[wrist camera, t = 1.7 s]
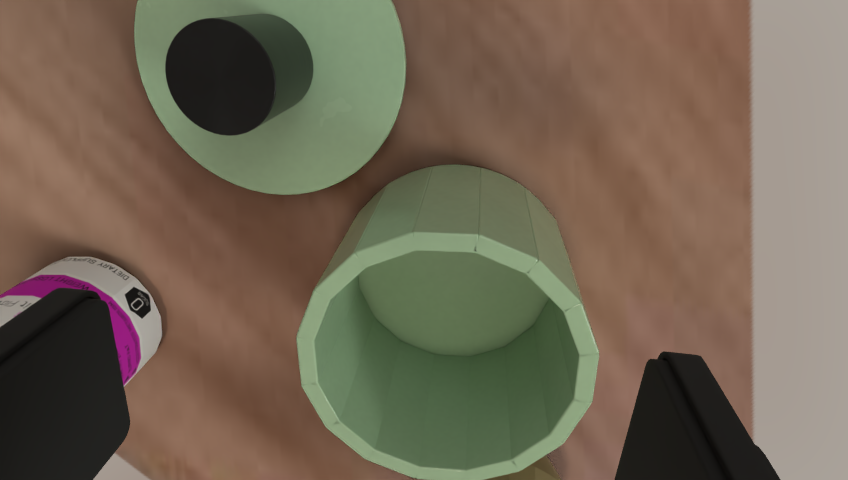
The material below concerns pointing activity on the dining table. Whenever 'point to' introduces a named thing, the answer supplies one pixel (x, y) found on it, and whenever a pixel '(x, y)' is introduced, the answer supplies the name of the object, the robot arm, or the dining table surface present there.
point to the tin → (449, 329)
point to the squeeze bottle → (533, 472)
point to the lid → (274, 85)
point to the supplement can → (115, 286)
